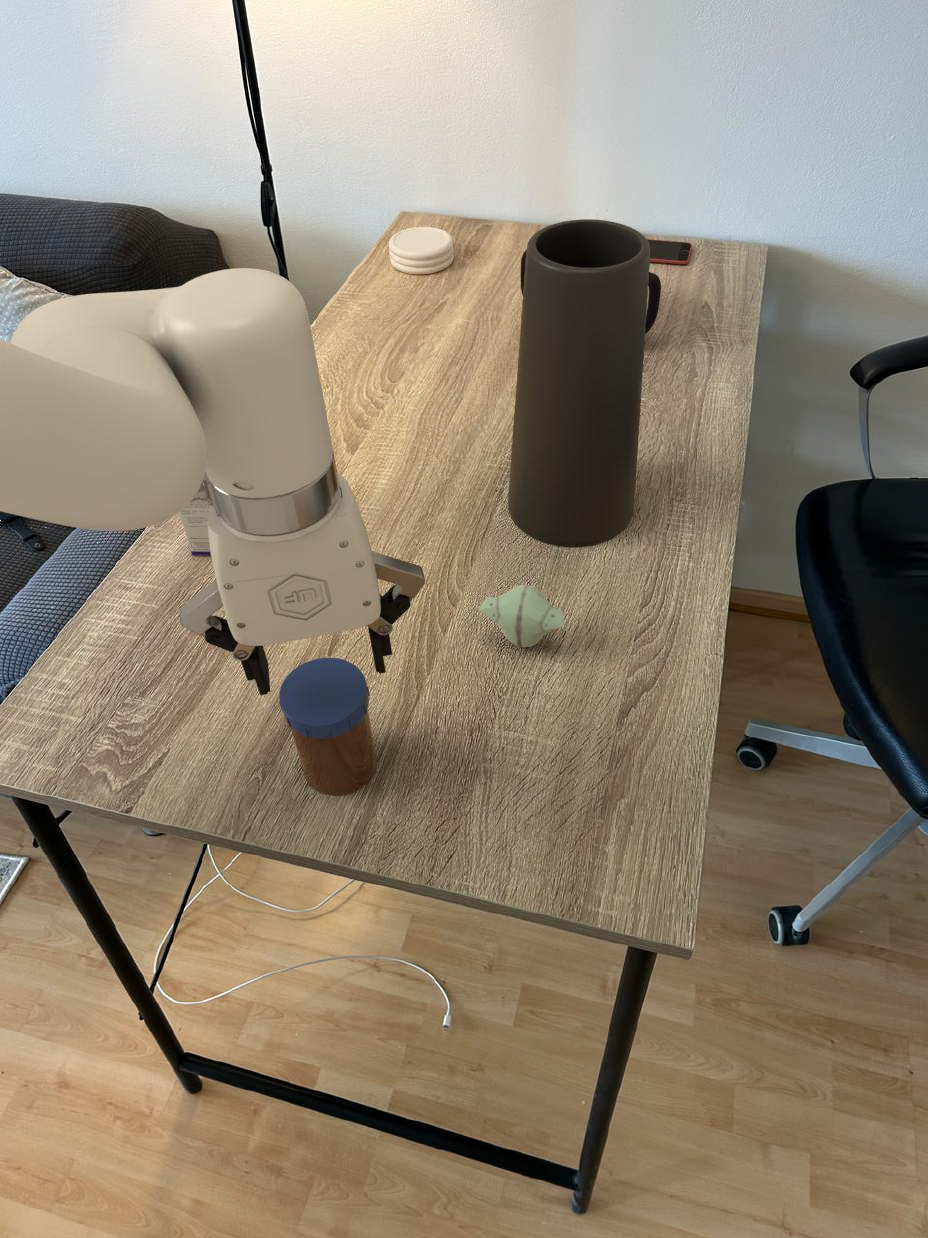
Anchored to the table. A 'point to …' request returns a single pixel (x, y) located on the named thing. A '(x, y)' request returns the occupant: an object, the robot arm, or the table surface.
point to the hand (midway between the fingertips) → (322, 669)
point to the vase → (579, 382)
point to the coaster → (421, 250)
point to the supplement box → (196, 526)
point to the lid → (324, 698)
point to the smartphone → (669, 251)
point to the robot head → (523, 615)
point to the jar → (338, 759)
